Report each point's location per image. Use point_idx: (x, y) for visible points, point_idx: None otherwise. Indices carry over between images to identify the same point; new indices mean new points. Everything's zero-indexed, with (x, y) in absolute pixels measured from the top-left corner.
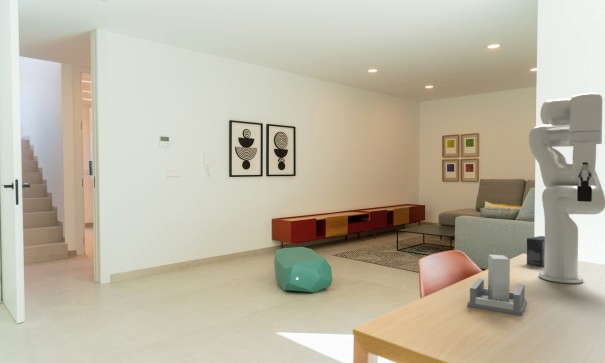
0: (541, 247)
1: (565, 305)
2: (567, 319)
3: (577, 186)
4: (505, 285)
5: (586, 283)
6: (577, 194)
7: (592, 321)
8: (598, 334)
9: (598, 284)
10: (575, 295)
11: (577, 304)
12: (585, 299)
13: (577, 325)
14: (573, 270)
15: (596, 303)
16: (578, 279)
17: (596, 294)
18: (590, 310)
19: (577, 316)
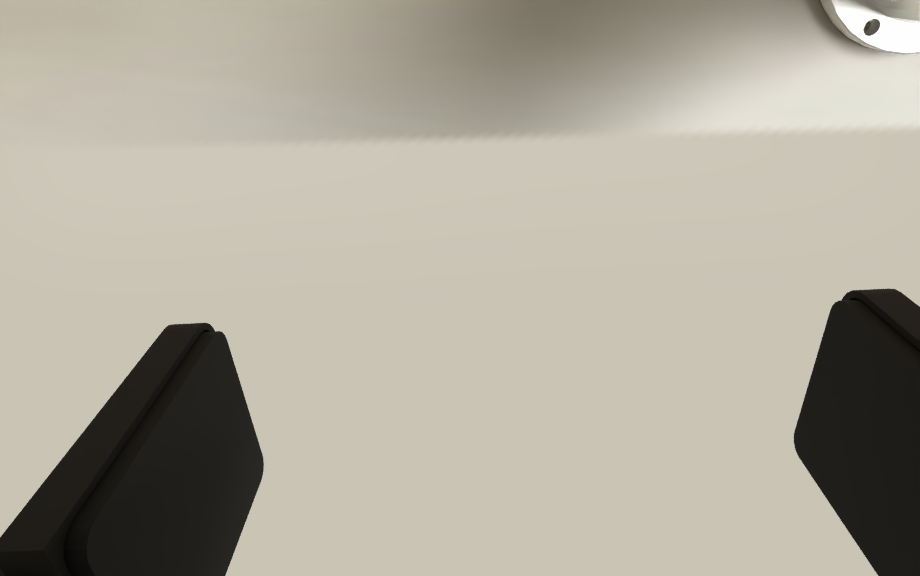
0: None
1: (335, 6)
2: (119, 34)
3: (38, 551)
4: None
5: (865, 69)
6: (117, 397)
7: (177, 123)
8: (36, 146)
9: (862, 124)
10: (560, 35)
11: (392, 55)
12: (508, 82)
13: (74, 76)
14: (906, 8)
15: (466, 127)
16: (876, 31)
17: (636, 122)
18: (331, 110)
19: (198, 68)
